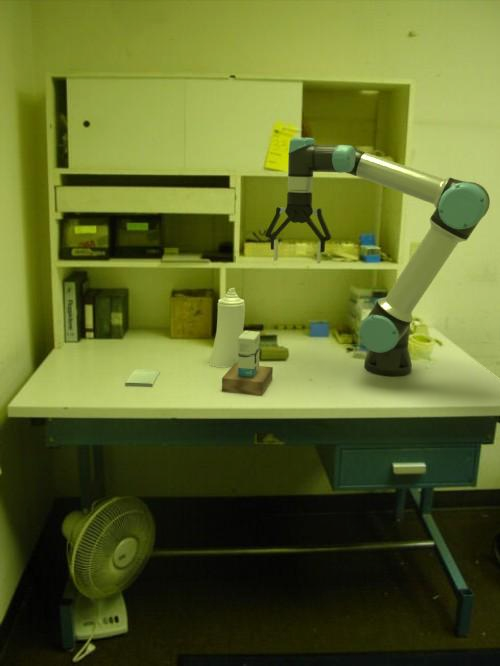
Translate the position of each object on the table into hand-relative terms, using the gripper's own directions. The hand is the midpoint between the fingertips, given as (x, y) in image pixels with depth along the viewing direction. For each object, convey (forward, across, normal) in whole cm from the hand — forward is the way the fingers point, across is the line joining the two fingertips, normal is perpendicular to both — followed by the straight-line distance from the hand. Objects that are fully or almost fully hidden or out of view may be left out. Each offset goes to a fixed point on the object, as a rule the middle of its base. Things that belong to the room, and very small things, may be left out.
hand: (296, 261), depth 191 cm
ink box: (+31, +10, +20) cm, 38 cm away
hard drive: (+36, +42, +24) cm, 60 cm away
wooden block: (+35, +10, +20) cm, 41 cm away
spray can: (+35, +22, +1) cm, 41 cm away
